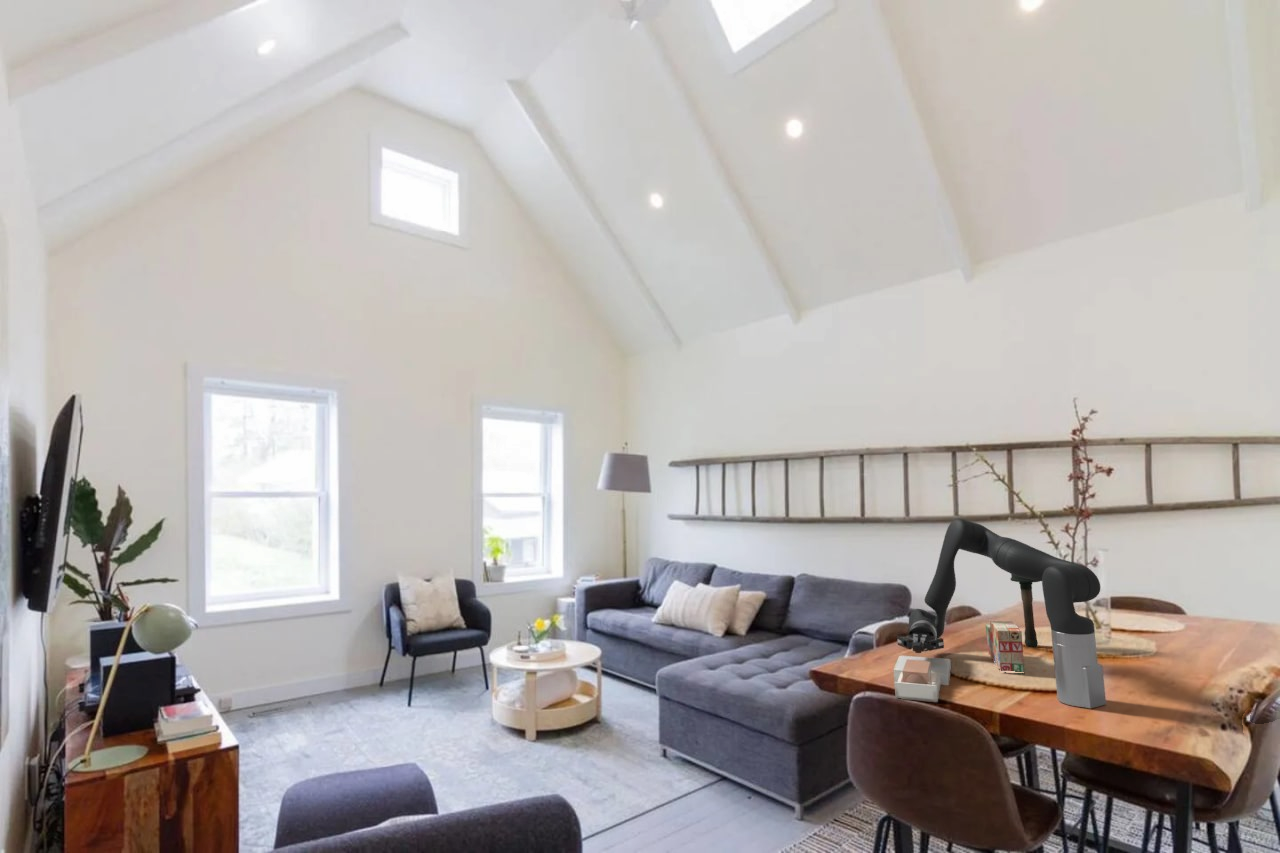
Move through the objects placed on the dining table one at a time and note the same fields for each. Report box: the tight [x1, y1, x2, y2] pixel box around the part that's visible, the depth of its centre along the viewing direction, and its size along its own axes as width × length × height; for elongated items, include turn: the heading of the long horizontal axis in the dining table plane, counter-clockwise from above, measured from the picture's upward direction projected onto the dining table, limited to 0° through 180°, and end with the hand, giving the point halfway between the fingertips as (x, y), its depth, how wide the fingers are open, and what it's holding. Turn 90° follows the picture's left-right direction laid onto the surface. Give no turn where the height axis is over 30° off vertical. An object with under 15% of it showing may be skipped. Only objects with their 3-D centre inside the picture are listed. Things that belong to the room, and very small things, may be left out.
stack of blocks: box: [985, 620, 1026, 673], centre depth 201 cm, size 21×6×12 cm, turn 161°
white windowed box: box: [893, 655, 952, 686], centre depth 193 cm, size 16×14×3 cm
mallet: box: [1010, 573, 1040, 648], centre depth 219 cm, size 8×9×30 cm
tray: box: [894, 672, 942, 703], centre depth 179 cm, size 15×10×4 cm, turn 153°
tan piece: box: [902, 659, 932, 685], centre depth 179 cm, size 6×6×13 cm
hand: (917, 649), depth 185 cm, fingers closed
